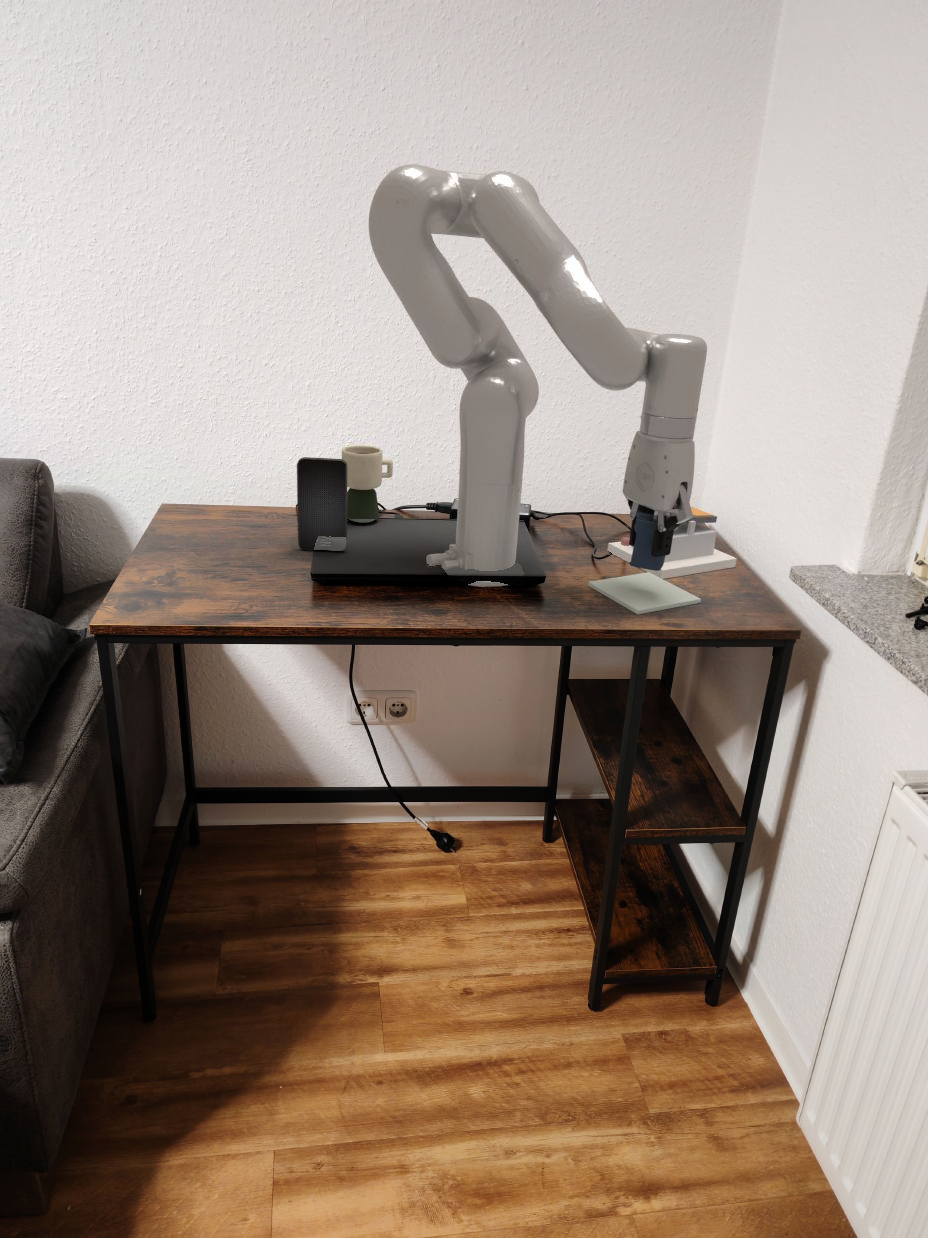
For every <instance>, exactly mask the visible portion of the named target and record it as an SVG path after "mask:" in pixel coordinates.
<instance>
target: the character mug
mask: <svg viewBox="0 0 928 1238" xmlns="http://www.w3.org/2000/svg"><path fill="white" fill-rule="evenodd" d="M341 459H343V460H344V461H345V462H346V463H347V466H348V471H347V488H348V489H347V518H351V519H377V520H379V519H378V518H380V515H379V503H378V496H377V495H378V494H377V492H376V489H377V488H379V487H381V485H382V481H383V479H390V478H392V477H393V473H394V469H393V468H394V467H393V464H394V462H393V460H392V459H387V458H385V459H383V449H382V448H380V447H377V446H371V445H362V444H361V445H360V444H357V445H349V446H348V445H347V446H344V447H342V450H341ZM383 466H386V468H387V470H386V472H383Z"/></svg>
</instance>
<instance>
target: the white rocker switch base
mask: <svg viewBox="0 0 928 1238" xmlns="http://www.w3.org/2000/svg"><path fill="white" fill-rule="evenodd" d="M717 534H718V532H717V531H716V530H714V529H712V528H708V527H706V526H704V525H702V524H701V523H696V522H695V521H689V523H688V524H681V525H679V526H678V529H677V530H674V533H673V539H672V546H671V552H670V554H669V555H666V556H665V560H664V565H663V567H662V568H661V570H659V571H654V570H648V569H643V568H640V569H641V570H643V571H645V573H647V572H649V573H651V574H653V575H655V576H657V577H659V578H661V579H663V580H666V579H670V578H676V577H684V576H689V575H695V574H701V573H706V572H714V571H719V570H726V569H732V568H735V567H736V565H737V560H738V558H737V557H734V556H732V555H730V554H728V553H725V552H723V551H720V550H718V549H716V548H715V544H716V539H717ZM629 540H630V537H627V536H622V537H621V541H615V542H608V544H607V551H609V552H611V553H612V554H611V553H610V554H611V555H614V556H616V557H617V558H619V559H621V560H623V561H625V562H626V563H627V562H628V563H630V562H631V558H632V553H633V548H634V546H631V545H629ZM609 552H608V553H609Z"/></svg>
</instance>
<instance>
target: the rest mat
mask: <svg viewBox="0 0 928 1238" xmlns="http://www.w3.org/2000/svg"><path fill="white" fill-rule="evenodd" d="M587 586H588V587H589V588H591V589H593V590H595V591H596V592H599V593H600V594H602V595H603V596H605V597H607V598H608V599H610V600H612V601H614V602H615V603H617V604H619V605H620V606H622V607H624V608H626V609H627V610H629V611H631V612H633V613H635V614H636V615H642V614H648V613H652V612H656V611H663V610H668V609H674V608H679V607H684V606H690V605H691V606H692V605H695V604H700V603H701V601H702V599H701V598H700V597H698V596H696V595H695V594H693V593H690V592H688V591H686V590H685V589H683V588H680V587H679V586H677V585H674V584H673V583H671V582H669V581H667V580H666V579H661V578H659V577H657V576H655V575H653V574H651V573H649V572H642V573H636V574H629V575H624V576H617V577H611V578H604V579H598V580H597V579H596V580H590V581H588V582H587Z"/></svg>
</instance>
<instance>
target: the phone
mask: <svg viewBox="0 0 928 1238" xmlns="http://www.w3.org/2000/svg"><path fill="white" fill-rule="evenodd" d="M347 471H348V466H347V463H346V462H345V461H344V460H343V459H342V458H331V457H330V458H327V457H325V458H324V457H307V456H306V457H305V456H304V457H300V458H299V459H298V461H297V463H296V497H297V498H296V501H297V502H296V503H297V510H296V511H297V519H296V520H297V523H296V524H297V544H298V547H299V548H300V549H301V550H303V551H313V550H314V547H315V543H316V540H317V538H318V536H326V537H329V536H331V537H346V538H347V539H348V520H347V492H348V487H347Z"/></svg>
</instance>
